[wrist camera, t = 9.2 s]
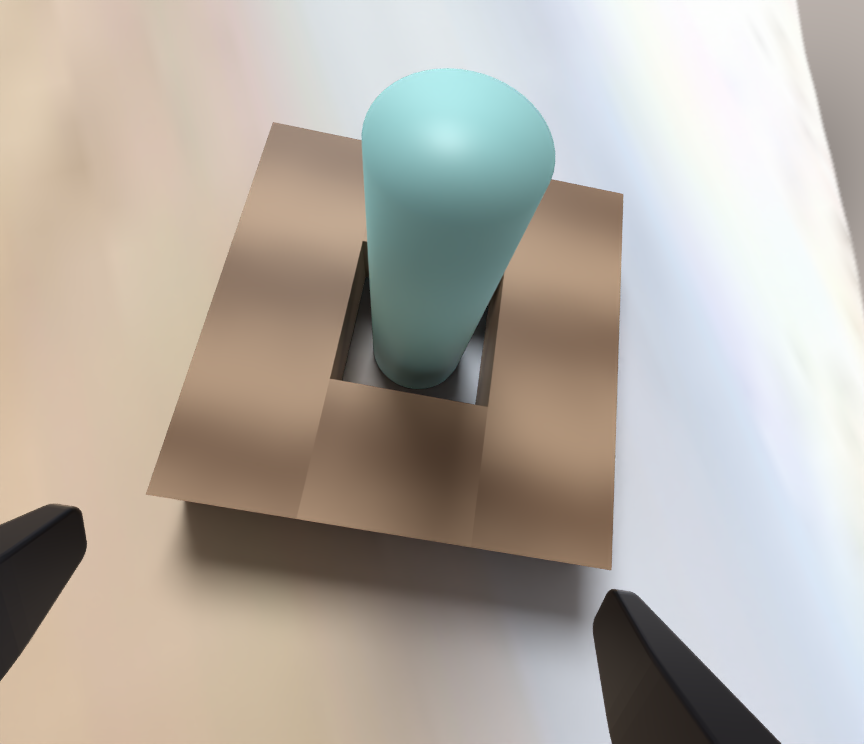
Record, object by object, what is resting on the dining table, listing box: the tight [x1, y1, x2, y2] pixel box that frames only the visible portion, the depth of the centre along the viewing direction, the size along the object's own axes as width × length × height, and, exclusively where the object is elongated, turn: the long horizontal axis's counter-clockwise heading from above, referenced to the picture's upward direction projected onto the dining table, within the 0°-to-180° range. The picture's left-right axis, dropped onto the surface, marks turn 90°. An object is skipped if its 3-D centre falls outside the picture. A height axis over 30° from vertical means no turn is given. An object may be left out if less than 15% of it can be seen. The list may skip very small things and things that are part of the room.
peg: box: [362, 68, 555, 389], centre depth 15 cm, size 4×4×12 cm
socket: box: [146, 122, 623, 570], centre depth 19 cm, size 16×16×3 cm
